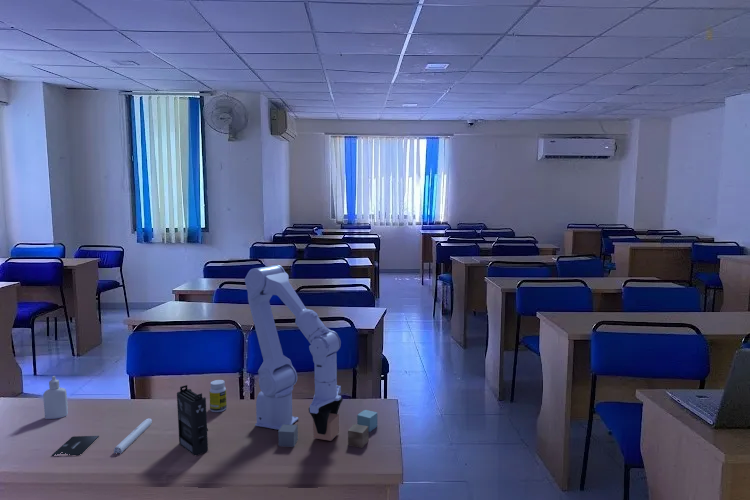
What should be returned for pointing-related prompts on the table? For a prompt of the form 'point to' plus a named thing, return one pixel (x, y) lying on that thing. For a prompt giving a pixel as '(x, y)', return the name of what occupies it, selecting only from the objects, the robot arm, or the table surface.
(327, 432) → the terracotta block
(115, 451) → the marker
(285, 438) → the charcoal block
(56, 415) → the eye dropper bottle
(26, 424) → the table surface
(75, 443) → the solid state drive
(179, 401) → the geiger counter
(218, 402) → the supplement bottle
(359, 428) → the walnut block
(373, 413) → the dull teal block
